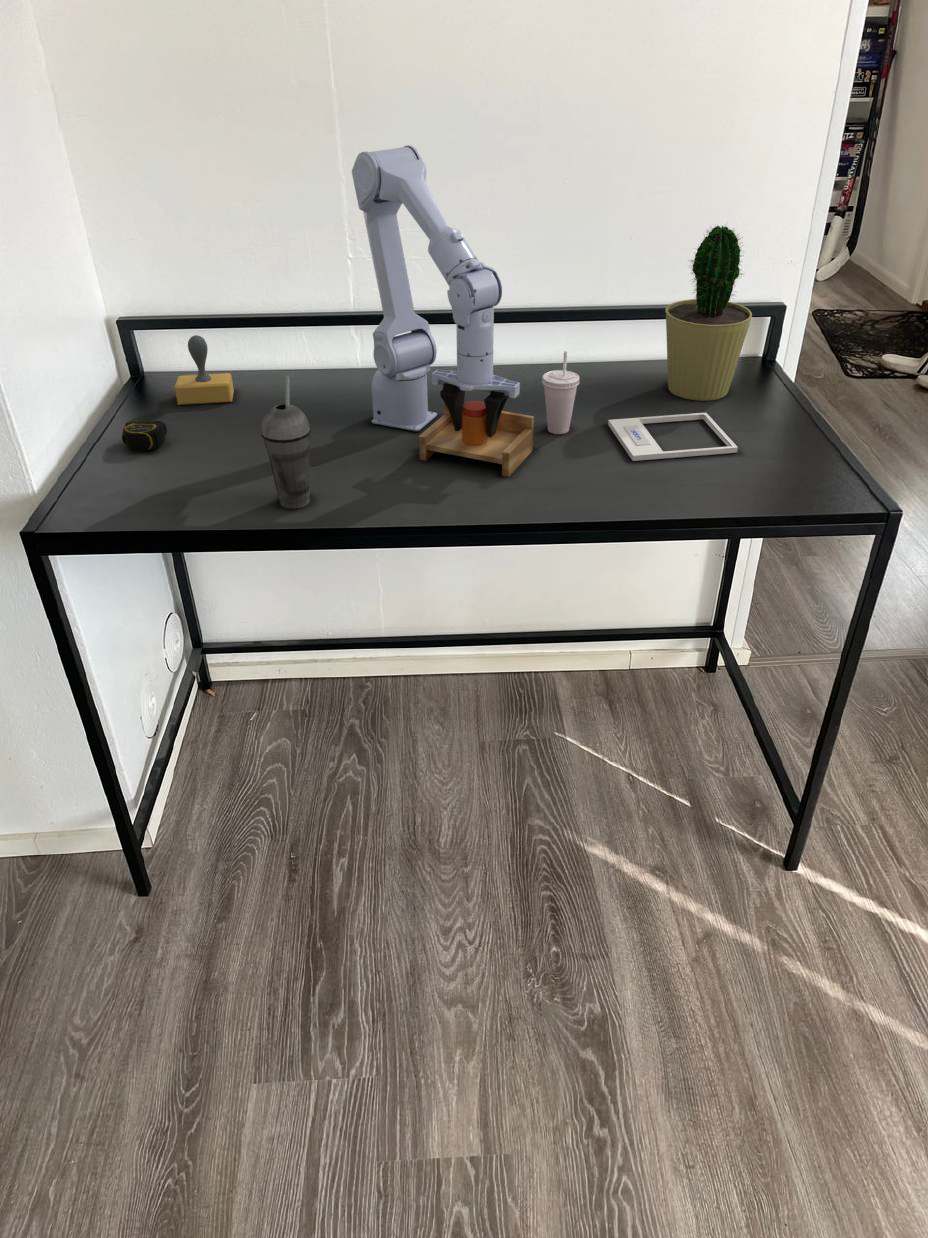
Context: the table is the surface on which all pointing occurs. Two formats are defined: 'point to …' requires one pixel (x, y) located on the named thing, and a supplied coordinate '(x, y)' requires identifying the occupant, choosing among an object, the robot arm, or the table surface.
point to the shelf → (501, 448)
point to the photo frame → (646, 447)
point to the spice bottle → (474, 423)
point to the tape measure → (144, 434)
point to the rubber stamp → (203, 380)
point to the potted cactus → (707, 322)
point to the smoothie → (560, 397)
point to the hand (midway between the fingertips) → (475, 431)
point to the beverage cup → (288, 452)
